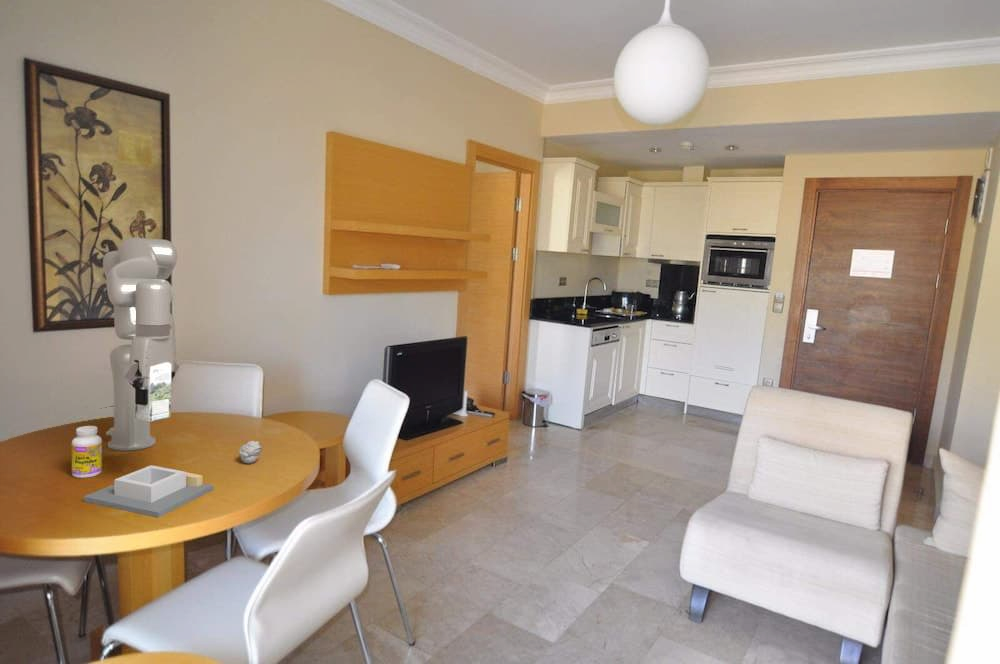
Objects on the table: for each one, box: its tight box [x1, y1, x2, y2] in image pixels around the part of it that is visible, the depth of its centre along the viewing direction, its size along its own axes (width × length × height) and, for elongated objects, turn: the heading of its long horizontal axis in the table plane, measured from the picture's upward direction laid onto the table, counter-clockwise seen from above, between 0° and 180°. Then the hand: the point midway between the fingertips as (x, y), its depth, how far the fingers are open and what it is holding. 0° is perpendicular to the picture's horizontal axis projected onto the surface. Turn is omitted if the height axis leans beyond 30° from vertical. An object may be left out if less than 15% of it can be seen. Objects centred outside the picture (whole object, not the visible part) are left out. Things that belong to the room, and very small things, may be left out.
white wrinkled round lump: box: [238, 440, 263, 464], centre depth 175 cm, size 6×7×7 cm
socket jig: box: [83, 464, 214, 518], centre depth 149 cm, size 22×18×5 cm
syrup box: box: [135, 363, 172, 423], centre depth 148 cm, size 6×6×14 cm
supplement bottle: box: [71, 425, 103, 479], centre depth 158 cm, size 7×7×13 cm
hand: (153, 400), depth 148 cm, fingers closed on syrup box, 6 cm apart
